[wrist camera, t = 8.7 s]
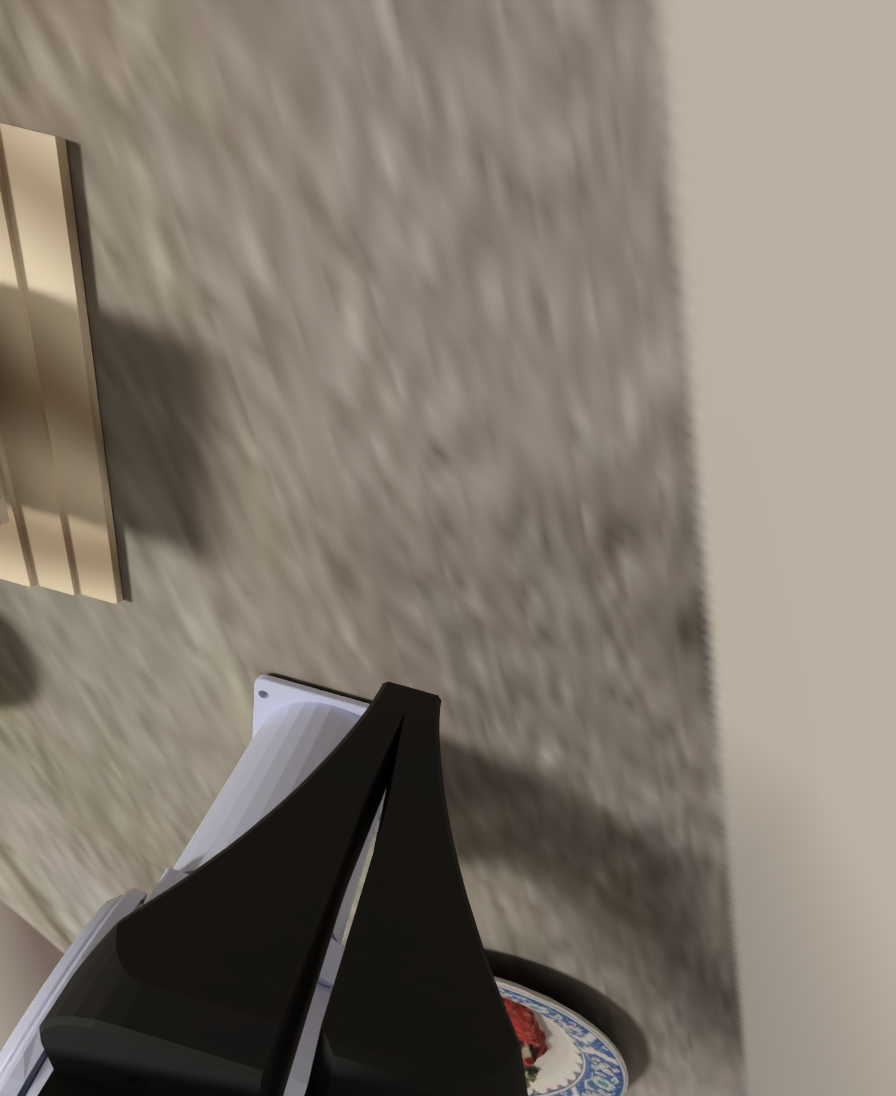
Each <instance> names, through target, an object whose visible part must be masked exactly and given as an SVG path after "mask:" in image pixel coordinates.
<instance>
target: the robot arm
mask: <svg viewBox="0 0 896 1096" xmlns="http://www.w3.org/2000/svg"><path fill="white" fill-rule="evenodd" d="M440 705H441V699H440V698H439V696H438V695H434V694H431V693H427V692H424V691H420V690H417V689H413V688H409V687H406V686H402V685H399V684H395V683H392V682H386V683H383V684H382V686H381V688H380V690H379V691H378V693H377V695H376V696H375V698H374V699H373V701H372V702H371V704H369V703H365V702H361V701H358V700H354V699H351V698H347V697H344V696H340V695H337V694H333V693H330V692H326V691H322V690H319V689H315V688H312V687H308V686H305V685H301V684H298V683H294V682H291V681H287V680H284V679H280V678H276V677H273V676H269V675H260V676H259V677H258V678H257V680H256V681H255V688H254V716H253V739H252V741H251V743H250V744H249V746H248V748H247V749H246V751H245V752H244V754H243V756H242V757H241V759H240V761H239V762H238V764H237V766H236V767H235V769H234V770H233V772H232V774H231V775H230V777H229V779H228V780H227V782H226V783H225V785H224V787H223V788H222V790H221V792H220V793H219V795H218V796H217V798H216V800H215V801H214V803H213V805H212V806H211V808H210V809H209V811H208V813H207V814H206V816H205V818H204V819H203V821H202V822H201V824H200V826H199V827H198V829H197V831H196V832H195V834H194V835H193V837H192V839H191V840H190V842H189V844H188V845H187V847H186V848H185V850H184V852H183V853H182V855H181V857H180V858H179V860H178V861H177V863H176V865H175V866H174V868H167V869H166V871H165V872H164V874H163V875H162V877H161V879H160V880H159V882H158V883H157V885H156V887H155V888H154V890H153V891H152V893H151V895H150V896H149V898H148V899H147V901H146V903H145V904H144V902H145V900H146V897H147V893H146V892H143V891H141V890H139V889H136V888H133V889H131V890H129V891H127V892H126V893H125V894H124V895H120V896H118V897H116V898H113V899H111V900H109V901H107V902H106V903H105V904H104V905H103V906H102V907H101V908H100V909H99V910H98V911H97V912H96V914H95V915H94V916H93V917H92V918H91V920H90V921H89V922H88V923H87V925H86V926H85V927H84V929H83V930H82V931H81V933H80V934H79V935H78V937H77V938H76V939H75V941H74V942H73V943H72V945H71V946H70V948H69V949H68V950H67V952H66V953H65V955H64V956H63V957H62V959H61V960H60V962H59V963H58V965H57V966H56V967H55V969H54V970H53V972H52V973H51V975H50V976H49V978H48V979H47V981H46V982H45V983H44V985H43V986H42V988H41V989H40V991H39V992H38V994H37V996H36V997H35V999H34V1000H33V1002H32V1003H31V1005H30V1006H29V1008H28V1009H27V1011H26V1012H25V1014H24V1015H23V1017H22V1019H21V1020H20V1022H19V1023H18V1025H17V1026H16V1028H15V1029H14V1031H13V1033H12V1034H11V1036H10V1037H9V1039H8V1041H7V1042H6V1044H5V1046H4V1047H3V1049H2V1051H1V1052H0V1096H528V1091H527V1084H526V1076H525V1070H524V1064H523V1058H522V1052H521V1046H520V1042H519V1039H518V1036H517V1034H516V1031H515V1029H514V1027H513V1024H512V1022H511V1019H510V1017H509V1014H508V1012H507V1010H506V1007H505V1004H504V1002H503V999H502V997H501V994H500V992H499V989H498V986H497V984H496V981H495V978H494V976H493V973H492V970H491V967H490V965H489V962H488V959H487V956H486V953H485V951H484V948H483V945H482V942H481V938H480V935H479V932H478V929H477V926H476V923H475V919H474V916H473V913H472V910H471V907H470V903H469V900H468V897H467V894H466V890H465V886H464V882H463V879H462V875H461V871H460V867H459V863H458V859H457V855H456V851H455V846H454V842H453V837H452V832H451V827H450V822H449V816H448V810H447V805H446V798H445V791H444V784H443V775H442V766H441V756H440V737H439V717H440ZM374 832H377V837H376V842H375V847H374V852H373V856H372V859H371V862H370V866H369V869H368V872H367V876H366V879H365V883H364V886H363V889H362V893H361V896H360V899H359V902H358V906H357V909H356V912H355V916H354V919H353V922H352V926H351V929H350V932H349V936H348V939H347V942H346V946H343V945H341V941H342V937H343V934H344V931H345V927H346V924H347V921H348V917H349V914H350V911H351V907H352V904H353V901H354V897H355V894H356V891H357V887H358V884H359V881H360V877H361V874H362V871H363V867H364V864H365V861H366V857H367V854H368V851H369V847H370V844H371V841H372V837H373V834H374Z"/></svg>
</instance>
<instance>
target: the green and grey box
mask: <svg viewBox="0 0 896 1096" xmlns="http://www.w3.org/2000/svg"><path fill="white" fill-rule="evenodd" d="M9 521H10V519H9V515H8V511H7V506H6V502H5V498H4V494H3V490H2V485H1V481H0V525H2V524H4V523H7V522H9Z"/></svg>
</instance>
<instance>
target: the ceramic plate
mask: <svg viewBox="0 0 896 1096" xmlns="http://www.w3.org/2000/svg"><path fill="white" fill-rule="evenodd" d="M494 978H495V981H496V984H497V986H498V989H499V992H500V994H501V997H502V999H503V1002H504V1004H505V1007H506V1010H507V1012H508V1014H509V1017H510V1019H511V1022H512V1024H513V1027H514V1029H515V1031H516V1034H517V1036H518V1039H519V1042H520V1046H521V1052H522V1058H523V1064H524V1070H525V1076H526V1084H527V1091H528V1096H624V1094H625V1093H626V1091H627V1087H628V1072H627V1068H626V1064H625V1062H624V1060H623V1057H622V1055H621V1054H620V1052H619V1051H618V1049H617V1048H616V1046H615V1045H614V1044H613V1043H612V1042H611V1041H610V1039H609V1038H608V1037H607V1036H606V1035H605V1034H604V1033H603V1032H601V1031H600V1030H599V1029H598V1028H597V1027H595V1026H594V1025H593V1024H592V1023H590V1022H589V1021H588V1020H586V1019H585V1018H584V1017H582V1016H581V1015H580V1014H578V1013H576V1012H575V1011H573V1010H571V1009H569V1008H568V1007H566V1006H564V1005H562V1004H560V1003H559V1002H557V1001H555V1000H553V999H552V998H550V997H548V996H546V995H543V994H541V993H538V992H536V991H534V990H531V989H529V988H527V987H524V986H522V985H520V984H517V983H515V982H511V981H508V980H505V979H502V978H499V977H495V976H494Z"/></svg>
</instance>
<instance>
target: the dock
mask: <svg viewBox="0 0 896 1096" xmlns="http://www.w3.org/2000/svg"><path fill="white" fill-rule="evenodd" d="M0 481H1V485H2V490H3V494H4V498H5V502H6V506H7V511H8V515H9V519H10V521H9V522H7V523H4V524H2V525H0V579H4V580H7V581H11V582H14V583H18V584H21V585H25V586H28V587H31V586H33V585H39V586H42V587H46V588H50V589H53V590H57V591H60V592H64V593H67V594H71V595H76V594H77V593H79V594H82V595H86V596H90V597H93V598H97V599H100V600H104V601H107V602H111V603H115V604H118V603H119V602H121V601H122V600H123V595H122V587H121V579H120V571H119V563H118V555H117V547H116V539H115V531H114V523H113V515H112V507H111V499H110V491H109V483H108V475H107V467H106V459H105V451H104V443H103V435H102V427H101V419H100V411H99V403H98V395H97V387H96V379H95V371H94V363H93V356H92V348H91V340H90V332H89V324H88V316H87V308H86V300H85V292H84V284H83V276H82V268H81V260H80V252H79V244H78V236H77V228H76V220H75V212H74V204H73V196H72V188H71V180H70V172H69V164H68V156H67V148H66V140H65V139H63V138H59V137H55V136H51V135H47V134H43V133H39V132H35V131H31V130H27V129H23V128H19V127H14V126H10V125H6V124H2V123H0Z"/></svg>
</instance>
